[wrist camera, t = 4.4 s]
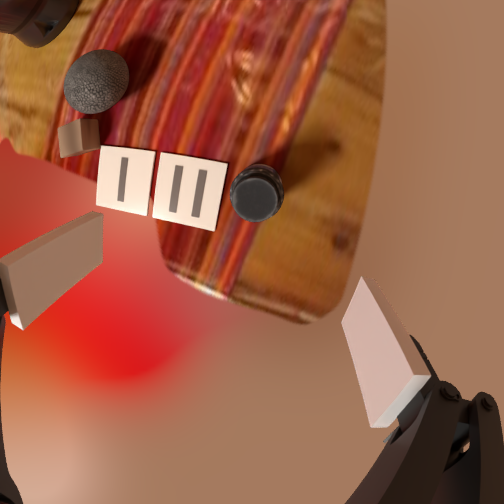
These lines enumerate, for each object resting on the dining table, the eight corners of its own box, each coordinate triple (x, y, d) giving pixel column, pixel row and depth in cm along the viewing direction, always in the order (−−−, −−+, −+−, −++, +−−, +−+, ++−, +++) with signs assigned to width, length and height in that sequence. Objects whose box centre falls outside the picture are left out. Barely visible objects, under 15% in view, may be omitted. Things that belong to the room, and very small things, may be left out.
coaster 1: (97, 204, 41) (95, 205, 40) (102, 145, 37) (100, 145, 36) (147, 215, 41) (146, 216, 40) (156, 151, 37) (154, 151, 36)
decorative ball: (101, 127, 36) (61, 127, 27) (83, 82, 33) (44, 76, 24) (150, 91, 34) (115, 79, 24) (128, 46, 31) (94, 28, 21)
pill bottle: (229, 185, 38) (212, 200, 28) (259, 154, 36) (253, 157, 26) (260, 215, 39) (255, 240, 29) (291, 185, 37) (297, 200, 27)
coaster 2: (153, 216, 41) (152, 217, 40) (162, 152, 37) (160, 152, 36) (215, 230, 41) (214, 231, 40) (227, 163, 37) (227, 163, 37)
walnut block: (79, 155, 38) (60, 158, 33) (76, 127, 36) (57, 128, 31) (100, 148, 37) (82, 150, 33) (98, 119, 35) (79, 118, 31)
